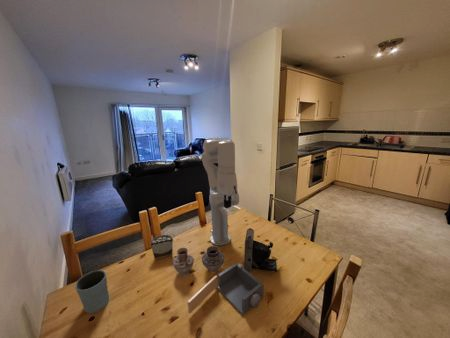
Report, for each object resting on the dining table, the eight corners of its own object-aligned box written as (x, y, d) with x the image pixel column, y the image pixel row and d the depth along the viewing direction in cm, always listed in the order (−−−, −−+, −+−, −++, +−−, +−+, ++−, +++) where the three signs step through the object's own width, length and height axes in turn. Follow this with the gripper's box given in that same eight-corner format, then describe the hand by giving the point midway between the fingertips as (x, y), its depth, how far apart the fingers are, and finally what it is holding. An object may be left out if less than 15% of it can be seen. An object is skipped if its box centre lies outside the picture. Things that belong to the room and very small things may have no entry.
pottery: (175, 265, 98) (173, 245, 95) (223, 259, 102) (222, 239, 99) (172, 283, 87) (170, 260, 85) (226, 275, 91) (226, 253, 88)
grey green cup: (106, 311, 75) (101, 286, 72) (76, 319, 72) (69, 293, 69) (113, 290, 84) (109, 267, 81) (87, 296, 82) (81, 272, 79)
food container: (174, 247, 112) (172, 232, 110) (175, 254, 106) (173, 238, 104) (152, 252, 108) (149, 236, 106) (151, 259, 103) (149, 243, 100)
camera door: (214, 283, 85) (214, 274, 83) (217, 286, 84) (217, 276, 82) (186, 310, 73) (185, 299, 72) (190, 313, 72) (189, 302, 71)
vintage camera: (276, 280, 88) (280, 242, 83) (243, 274, 91) (244, 237, 86) (275, 265, 97) (278, 230, 93) (245, 260, 100) (246, 226, 96)
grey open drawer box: (216, 288, 84) (216, 274, 82) (237, 273, 92) (237, 260, 90) (245, 319, 70) (245, 303, 69) (267, 299, 78) (267, 285, 76)
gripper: (210, 167, 88) (211, 204, 93) (231, 174, 77) (232, 215, 82) (222, 165, 93) (223, 200, 97) (244, 170, 82) (244, 210, 86)
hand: (227, 207), depth 89 cm, fingers closed
